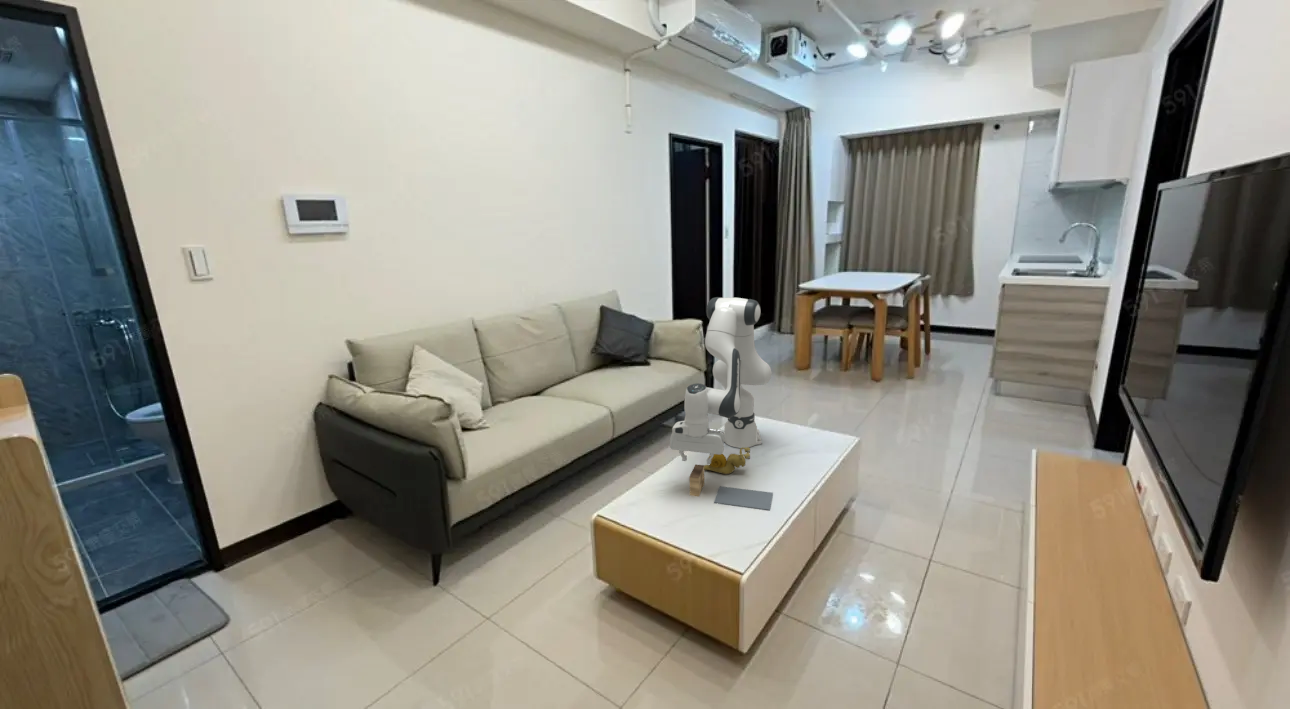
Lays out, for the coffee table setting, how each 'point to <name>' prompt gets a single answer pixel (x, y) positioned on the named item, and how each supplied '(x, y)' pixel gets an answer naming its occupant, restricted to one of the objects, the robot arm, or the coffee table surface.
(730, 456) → the toy
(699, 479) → the slab
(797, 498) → the coffee table surface
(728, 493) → the mat
